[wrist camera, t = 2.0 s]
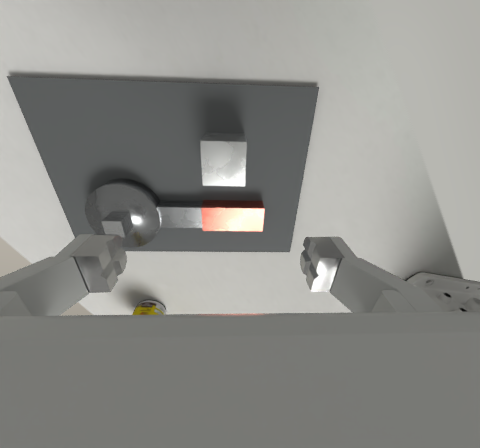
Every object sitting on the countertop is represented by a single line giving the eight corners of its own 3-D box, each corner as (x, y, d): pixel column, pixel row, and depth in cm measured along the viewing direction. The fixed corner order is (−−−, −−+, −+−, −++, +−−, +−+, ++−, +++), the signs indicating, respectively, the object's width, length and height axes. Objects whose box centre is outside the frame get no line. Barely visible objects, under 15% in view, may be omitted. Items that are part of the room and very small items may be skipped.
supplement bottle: (156, 295, 39) (134, 353, 31) (172, 314, 42) (156, 372, 33) (130, 303, 40) (101, 361, 31) (146, 321, 43) (124, 379, 34)
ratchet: (264, 180, 28) (269, 196, 24) (259, 238, 33) (263, 260, 29) (86, 177, 28) (59, 193, 23) (106, 237, 32) (86, 259, 28)
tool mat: (317, 87, 24) (319, 86, 23) (288, 249, 35) (289, 252, 34) (12, 76, 23) (6, 76, 22) (82, 248, 34) (80, 250, 33)
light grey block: (244, 133, 25) (246, 141, 21) (243, 170, 28) (244, 186, 23) (206, 132, 25) (200, 140, 21) (207, 170, 28) (202, 185, 23)
